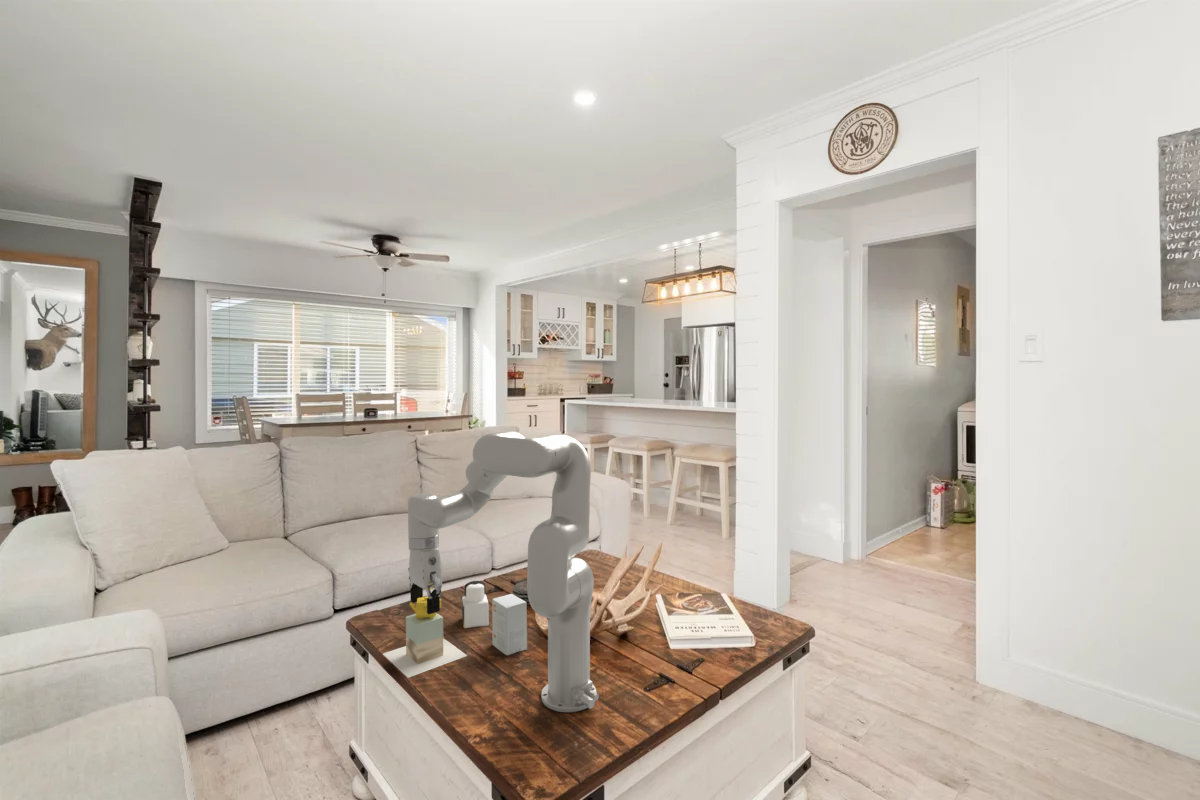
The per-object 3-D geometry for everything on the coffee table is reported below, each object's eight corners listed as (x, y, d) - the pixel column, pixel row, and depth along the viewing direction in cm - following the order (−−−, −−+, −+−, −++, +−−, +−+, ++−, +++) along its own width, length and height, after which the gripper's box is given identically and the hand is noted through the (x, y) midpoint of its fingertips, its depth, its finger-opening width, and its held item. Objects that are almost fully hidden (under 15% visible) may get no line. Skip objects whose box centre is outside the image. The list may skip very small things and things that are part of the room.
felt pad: (467, 657, 145) (467, 655, 145) (408, 679, 135) (408, 677, 134) (439, 636, 157) (439, 634, 157) (382, 655, 146) (382, 653, 146)
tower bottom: (443, 655, 146) (443, 636, 145) (417, 664, 141) (417, 644, 141) (431, 645, 151) (431, 627, 151) (406, 654, 146) (405, 635, 146)
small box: (527, 649, 149) (527, 601, 149) (506, 657, 145) (506, 608, 145) (512, 638, 156) (511, 592, 155) (491, 645, 152) (491, 598, 151)
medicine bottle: (462, 619, 168) (461, 580, 168) (486, 616, 170) (485, 577, 170) (463, 629, 161) (463, 588, 161) (488, 626, 164) (488, 585, 163)
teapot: (408, 623, 141) (408, 603, 141) (410, 614, 147) (409, 595, 147) (441, 620, 143) (440, 600, 143) (441, 611, 149) (441, 592, 149)
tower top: (443, 636, 145) (443, 617, 145) (417, 644, 141) (417, 625, 141) (431, 627, 151) (430, 609, 150) (406, 635, 146) (405, 616, 146)
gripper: (453, 546, 141) (454, 612, 141) (422, 532, 154) (424, 594, 154) (424, 552, 136) (426, 621, 136) (396, 538, 149) (397, 601, 149)
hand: (424, 606), depth 145 cm, fingers open, 9 cm apart
